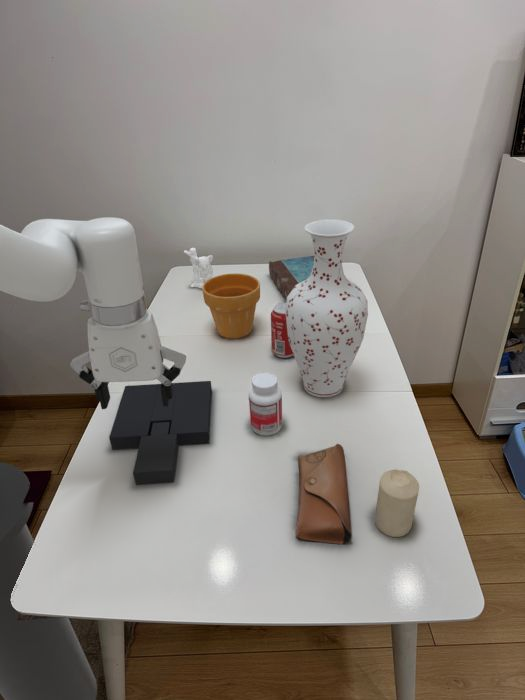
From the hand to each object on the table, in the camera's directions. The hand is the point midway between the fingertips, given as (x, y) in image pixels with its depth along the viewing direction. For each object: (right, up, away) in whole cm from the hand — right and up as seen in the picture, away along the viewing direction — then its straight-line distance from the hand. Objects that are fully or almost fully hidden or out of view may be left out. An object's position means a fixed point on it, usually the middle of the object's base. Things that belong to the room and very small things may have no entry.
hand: (136, 402), depth 78 cm
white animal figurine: (+1, +28, +72) cm, 78 cm away
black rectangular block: (+2, -11, +10) cm, 15 cm away
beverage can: (+26, +8, +38) cm, 47 cm away
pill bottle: (+21, -6, +16) cm, 27 cm away
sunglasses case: (+30, -16, +1) cm, 34 cm away
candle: (+40, -18, -3) cm, 44 cm away
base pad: (+1, -5, +19) cm, 20 cm away
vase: (+33, +1, +27) cm, 43 cm away
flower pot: (+13, +13, +48) cm, 52 cm away
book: (+34, +27, +69) cm, 82 cm away
